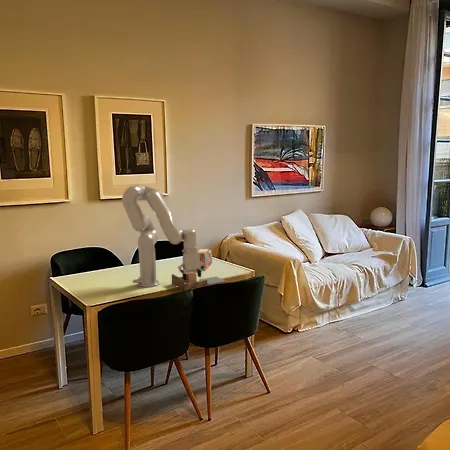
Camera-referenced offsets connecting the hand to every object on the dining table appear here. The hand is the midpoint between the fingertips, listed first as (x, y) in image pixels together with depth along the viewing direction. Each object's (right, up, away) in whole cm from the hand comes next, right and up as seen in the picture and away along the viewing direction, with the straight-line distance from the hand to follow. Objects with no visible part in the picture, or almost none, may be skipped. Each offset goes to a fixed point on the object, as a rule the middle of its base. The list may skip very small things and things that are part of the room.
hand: (192, 278), depth 275 cm
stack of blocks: (+5, +3, +43) cm, 43 cm away
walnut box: (-2, -4, 0) cm, 4 cm away
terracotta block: (-1, -4, +1) cm, 4 cm away
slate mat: (+12, -2, +8) cm, 15 cm away
